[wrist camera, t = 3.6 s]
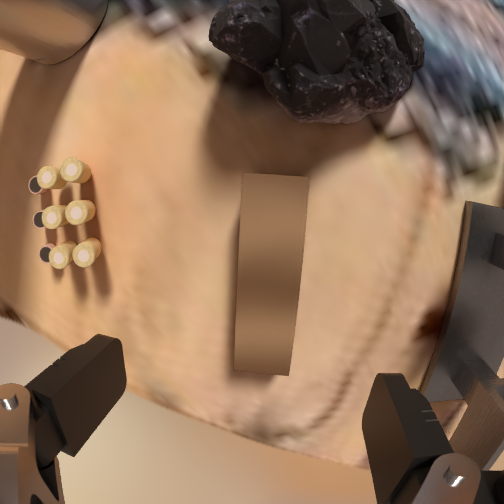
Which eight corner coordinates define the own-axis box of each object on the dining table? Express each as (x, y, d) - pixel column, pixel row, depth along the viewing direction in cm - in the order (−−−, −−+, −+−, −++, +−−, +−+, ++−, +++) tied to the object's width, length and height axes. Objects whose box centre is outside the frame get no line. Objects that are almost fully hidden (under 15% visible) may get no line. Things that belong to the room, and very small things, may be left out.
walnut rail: (252, 174, 21) (242, 172, 16) (305, 178, 20) (309, 177, 16) (243, 337, 23) (233, 370, 19) (290, 342, 23) (288, 375, 19)
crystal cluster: (404, -3, 16) (431, -81, 6) (425, 145, 18) (498, 102, 8) (243, -10, 19) (207, -90, 9) (233, 134, 20) (171, 80, 11)
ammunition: (75, 155, 17) (5, 180, 18) (91, 268, 18) (19, 272, 19) (112, 157, 21) (43, 177, 22) (125, 251, 23) (55, 258, 24)
